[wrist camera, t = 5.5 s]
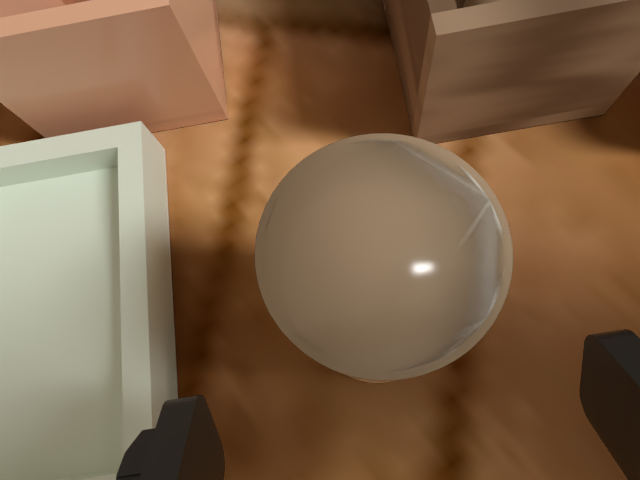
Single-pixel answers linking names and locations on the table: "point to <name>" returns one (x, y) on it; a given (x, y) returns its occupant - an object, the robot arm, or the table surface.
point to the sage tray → (83, 301)
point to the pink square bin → (111, 63)
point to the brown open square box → (510, 62)
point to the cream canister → (383, 257)
